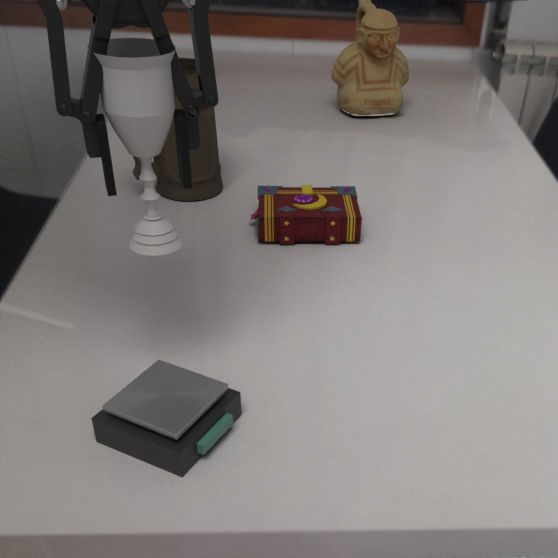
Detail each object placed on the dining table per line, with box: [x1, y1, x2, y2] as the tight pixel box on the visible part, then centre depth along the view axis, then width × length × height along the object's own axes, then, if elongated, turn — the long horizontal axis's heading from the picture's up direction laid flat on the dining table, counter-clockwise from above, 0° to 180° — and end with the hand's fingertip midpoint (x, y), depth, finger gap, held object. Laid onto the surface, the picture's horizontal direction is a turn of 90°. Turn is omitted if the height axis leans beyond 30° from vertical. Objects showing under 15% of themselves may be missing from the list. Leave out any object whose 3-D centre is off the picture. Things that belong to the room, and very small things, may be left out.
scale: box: [91, 387, 243, 478], centre depth 70 cm, size 11×10×3 cm
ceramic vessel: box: [330, 0, 410, 115], centre depth 151 cm, size 17×20×25 cm
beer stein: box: [132, 57, 224, 202], centre depth 112 cm, size 15×11×20 cm
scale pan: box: [101, 359, 230, 440], centre depth 69 cm, size 8×8×1 cm
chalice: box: [86, 37, 184, 256], centre depth 65 cm, size 7×7×18 cm
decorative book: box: [250, 184, 363, 245], centre depth 107 cm, size 11×16×5 cm
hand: (148, 186), depth 66 cm, fingers closed on chalice, 6 cm apart
